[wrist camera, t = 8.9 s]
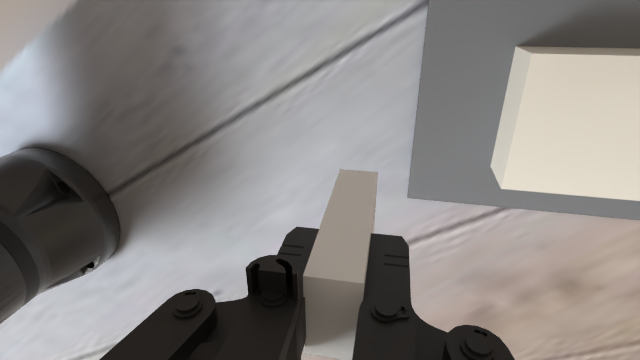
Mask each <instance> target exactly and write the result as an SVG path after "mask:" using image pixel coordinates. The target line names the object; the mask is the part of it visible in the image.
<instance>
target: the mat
mask: <svg viewBox="0 0 640 360" xmlns="http://www.w3.org/2000/svg"><path fill="white" fill-rule="evenodd" d="M516 46H530V47H583V48H637V49H640V0H429V5H428V14H427V23H426V32H425V41H424V50H423V59H422V68H421V78H420V87H419V96H418V105H417V114H416V123H415V132H414V141H413V150H412V160H411V169H410V178H409V187H408V197H407V198H413V199H424V200H434V201H444V202H455V203H465V204H476V205H486V206H496V207H507V208H517V209H527V210H538V211H548V212H558V213H569V214H579V215H590V216H600V217H610V218H621V219H631V220H640V201H633V200H622V199H610V198H599V197H588V196H576V195H565V194H553V193H542V192H531V191H519V190H508V189H501V188H500V186H499V183H498V181H497V179H496V177H495V175H494V173H493V171H492V169H491V167H490V166H491V161H492V157H493V152H494V147H495V142H496V137H497V133H498V128H499V123H500V118H501V114H502V109H503V104H504V99H505V94H506V90H507V85H508V80H509V75H510V71H511V66H512V61H513V56H514V52H515V47H516Z"/></svg>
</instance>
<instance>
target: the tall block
mask: <svg viewBox="0 0 640 360" xmlns="http://www.w3.org/2000/svg"><path fill="white" fill-rule="evenodd" d="M490 167H491V169H492V171H493V173H494V175H495V177H496V179H497V181H498V183H499V186H500V188H501V189H508V190H519V191H531V192H542V193H553V194H565V195H576V196H588V197H599V198H610V199H622V200H633V201H640V49H637V48H583V47H530V46H516V47H515V52H514V56H513V61H512V66H511V71H510V75H509V80H508V85H507V90H506V94H505V99H504V104H503V109H502V114H501V118H500V123H499V128H498V133H497V137H496V142H495V147H494V152H493V157H492V161H491V166H490Z"/></svg>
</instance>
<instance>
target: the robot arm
mask: <svg viewBox="0 0 640 360" xmlns="http://www.w3.org/2000/svg"><path fill="white" fill-rule="evenodd" d="M377 177H378V172H368V171H355V170H341V169H340V171H339V174H338V177H337V180H336V183H335V186H334V188H333V191H332V194H331V197H330V200H329V203H328V206H327V208H326V211H325V214H324V217H323V220H322V223H321V226H320V228H319V229H314V228H304V227H296V228H294V229H293V230H292V231H291V232H289V233H288V234H287V235H286V237H285V239H284V241H283V243H282V246H281V248H280V250H279V252H278V254H277V255H268V256H264V257H260V258H258V259H256V260H254V261H252V262H251V263H250V264H249V265H248V266H247V267H246V276H247V285H248V296H247V297H245V298H243V299H239V300H234V301H226V302H217V303H216V302H215V299H214V297H213V295H212V294H211V293H209V292H207V291H206V290H200V289H192V290H186V291H183V292H180V293H177V294H175V295H174V296H172V297H171V298H169V299H168V300H167V301H166V302H165V303H163V304H162V305H161V306H160V307H159V308H158V309H157V310H155V311H154V312H153V313H152V314H151V315H150V316H149V317H147V318H146V319H145V320H144V321H143V322H142V323H141V324H139V325H138V326H137V327H136V328H135V329H134V330H133V331H132V332H130V333H129V334H128V335H127V336H126V337H125V338H124V339H122V340H121V341H120V342H119V343H118V344H117V345H116V346H114V347H113V348H112V349H111V350H110V351H109V352H108V353H107V354H105V355H104V356H103V357H102V358H101V359H100V360H301V354H302V351H303V347H304V344H305V354H310V355H316V356H322V357H329V358H335V359H341V360H515V359H514V358H513V356H512V354H511V353H510V351H509V349H508V348H507V346H506V345H505V344H504V343H503V342H502V340H501V339H500V338H499V337H497V336H496V335H495V334H493V333H492V332H490V331H489V330H486V329H483V328H481V327H478V326H472V325H462V326H457V327H455V328H453V329H452V330H451V331H449V332H448V333H447V332H445V331H442V330H440V329H437V328H435V327H433V326H431V325H429V324H427V323H426V322H424V321H423V320H422V319H420V318H419V316H418V315H417V314H416V313H415V312H414V310H413V308H412V305H411V295H410V268H409V246H408V245H407V243H406V242H405V240H404V239H403V237H402V236H393V235H383V234H373V233H374V220H375V206H376V191H377ZM118 241H119V223H118V219H117V215H116V212H115V210H114V208H113V205H112V203H111V201H110V200H109V198H108V196H107V195H106V193H105V192H104V190H103V189H102V188H101V186H100V185H99V184H98V183H97V182H96V180H95V179H94V178H93V177H92V176H91V175H90V174H89V173H88V172H86V171H85V170H84V169H83V168H82V167H80V166H79V165H78V164H76V163H75V162H73V161H72V160H70V159H68V158H66V157H64V156H62V155H60V154H58V153H55V152H53V151H49V150H46V149H40V148H26V149H21V150H18V151H16V152H13V153H10V154H8V155H5V156H3V157H0V324H1V323H2V322H4V321H5V320H6V319H7V318H9V317H10V316H11V315H12V314H14V313H15V312H16V311H17V310H19V309H20V308H21V307H22V306H24V305H25V304H26V303H27V302H29V301H30V300H31V299H32V298H34V297H35V296H37V295H38V294H40V293H42V292H44V291H47V290H49V289H52V288H54V287H56V286H59V285H61V284H64V283H66V282H68V281H71V280H73V279H76V278H78V277H80V276H83V275H85V274H88V273H90V272H92V271H93V270H95V269H96V268H97V267H99V266H100V265H101V264H102V263H103V262H105V261H106V260H107V259H108V258H109V257H110V256H111V255H112V254H113V253H114V251H115V250H116V248H117V245H118Z"/></svg>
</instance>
